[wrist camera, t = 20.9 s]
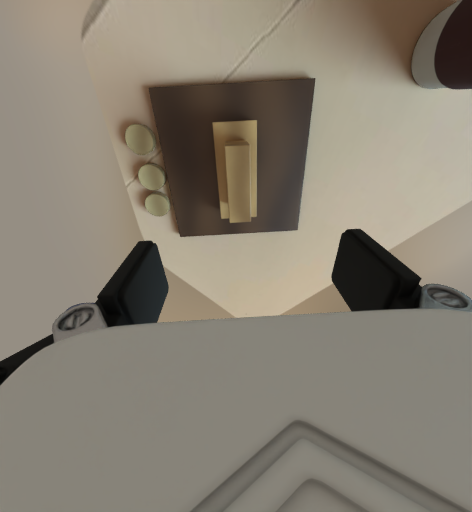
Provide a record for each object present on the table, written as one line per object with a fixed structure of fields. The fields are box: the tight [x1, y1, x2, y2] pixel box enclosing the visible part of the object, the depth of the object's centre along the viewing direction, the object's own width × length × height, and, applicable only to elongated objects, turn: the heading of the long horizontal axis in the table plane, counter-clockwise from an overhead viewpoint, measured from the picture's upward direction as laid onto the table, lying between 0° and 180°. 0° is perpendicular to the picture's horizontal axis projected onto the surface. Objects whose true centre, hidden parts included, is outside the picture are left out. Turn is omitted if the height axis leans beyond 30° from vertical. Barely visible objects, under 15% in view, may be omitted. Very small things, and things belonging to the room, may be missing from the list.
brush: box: [213, 120, 257, 223], centre depth 26 cm, size 5×12×10 cm, turn 3°
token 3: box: [145, 192, 170, 216], centre depth 33 cm, size 4×4×1 cm
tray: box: [149, 78, 315, 237], centre depth 31 cm, size 20×20×1 cm
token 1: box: [125, 124, 156, 155], centre depth 28 cm, size 4×4×1 cm
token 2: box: [138, 163, 166, 190], centre depth 31 cm, size 4×4×1 cm
